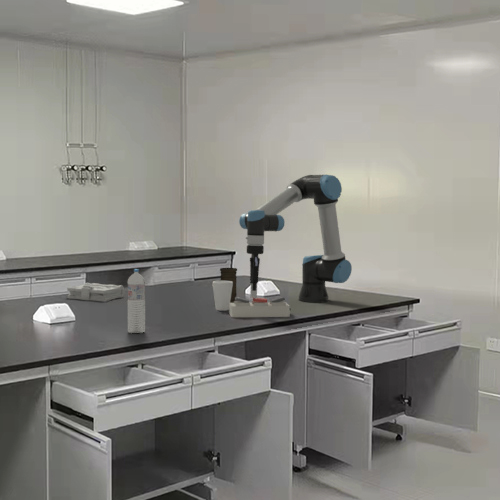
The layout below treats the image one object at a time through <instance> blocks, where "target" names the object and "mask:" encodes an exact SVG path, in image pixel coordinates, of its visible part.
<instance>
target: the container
mask: <svg viewBox="0 0 500 500" xmlns="http://www.w3.org/2000/svg"><path fill="white" fill-rule="evenodd" d="M219 271H220V272H219V273H220V281H232V282H233V287H232V293H231V300H230V303H234V301H236V300H235V297H237V271H238V268H237V267H221V268H219Z"/></svg>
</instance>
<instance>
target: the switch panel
mask: <svg viewBox="0 0 500 500" xmlns="http://www.w3.org/2000/svg"><path fill="white" fill-rule="evenodd" d="M290 307H291V306H290V305H289V304H288V302H286V301H285V300H284V301H280V302H276V303H271V301H270V300H269V301H267V303H266V302H254V301H253V300H251V302H249V303H244V302H240V301H234V303H229V310H228V313H229V316H230V317H231V318H288V317H289V318H290V315H291V314H290V312H291V310H292V309H291V308H290Z"/></svg>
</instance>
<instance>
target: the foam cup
mask: <svg viewBox="0 0 500 500" xmlns="http://www.w3.org/2000/svg"><path fill="white" fill-rule="evenodd" d="M232 287H233V282H232V281H221V280H214V281H212V289H213V291H212V292H213V297H214V306H215V310H216V311H229V303H230V300H231V293H232Z"/></svg>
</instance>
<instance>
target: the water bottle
mask: <svg viewBox="0 0 500 500" xmlns="http://www.w3.org/2000/svg"><path fill="white" fill-rule="evenodd" d="M139 270H140V269H139V268H138V269H137V268H134V269H133V272H134V273H132V274H131V275H130V276H129V277H128V279H127V332H128V333H129V334H132V333H140V334H144V333H145V331H146V279H145V278H144V276H143V275H142V274H140V273H139ZM143 332H144V333H143Z"/></svg>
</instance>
